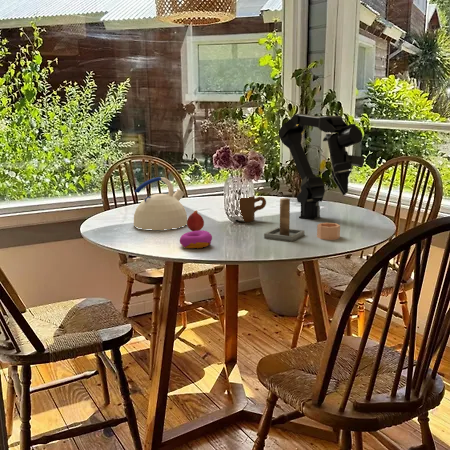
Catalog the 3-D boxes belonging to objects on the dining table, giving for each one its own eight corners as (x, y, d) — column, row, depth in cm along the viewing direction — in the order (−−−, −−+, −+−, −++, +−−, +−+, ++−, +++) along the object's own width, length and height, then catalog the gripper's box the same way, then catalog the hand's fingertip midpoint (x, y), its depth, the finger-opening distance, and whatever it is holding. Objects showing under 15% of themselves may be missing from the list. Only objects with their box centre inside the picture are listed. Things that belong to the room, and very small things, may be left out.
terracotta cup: (314, 239, 171) (315, 226, 170) (322, 235, 177) (322, 222, 176) (334, 242, 168) (335, 228, 167) (341, 237, 174) (342, 224, 173)
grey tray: (264, 239, 172) (264, 233, 172) (277, 233, 181) (277, 227, 180) (292, 243, 167) (292, 237, 167) (304, 236, 176) (304, 230, 175)
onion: (191, 235, 179) (190, 212, 177) (184, 232, 184) (184, 209, 182) (206, 233, 181) (206, 211, 180) (199, 230, 186) (199, 208, 185)
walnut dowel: (277, 234, 174) (278, 199, 171) (285, 233, 176) (285, 197, 173) (283, 236, 172) (284, 200, 169) (291, 235, 173) (291, 199, 171)
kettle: (199, 225, 195) (198, 176, 191) (151, 234, 182) (148, 182, 178) (169, 217, 210) (167, 172, 206) (123, 224, 198) (120, 177, 194)
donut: (184, 241, 172) (184, 228, 171) (215, 242, 170) (215, 229, 169) (176, 250, 162) (176, 236, 161) (209, 251, 160) (209, 236, 159)
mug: (265, 218, 205) (265, 194, 203) (266, 222, 198) (266, 197, 196) (234, 218, 205) (234, 194, 203) (234, 222, 198) (234, 198, 196)
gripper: (363, 141, 176) (371, 187, 175) (358, 150, 195) (365, 191, 194) (329, 148, 178) (337, 193, 177) (328, 156, 196) (335, 197, 196)
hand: (345, 193), depth 186 cm, fingers open, 9 cm apart
